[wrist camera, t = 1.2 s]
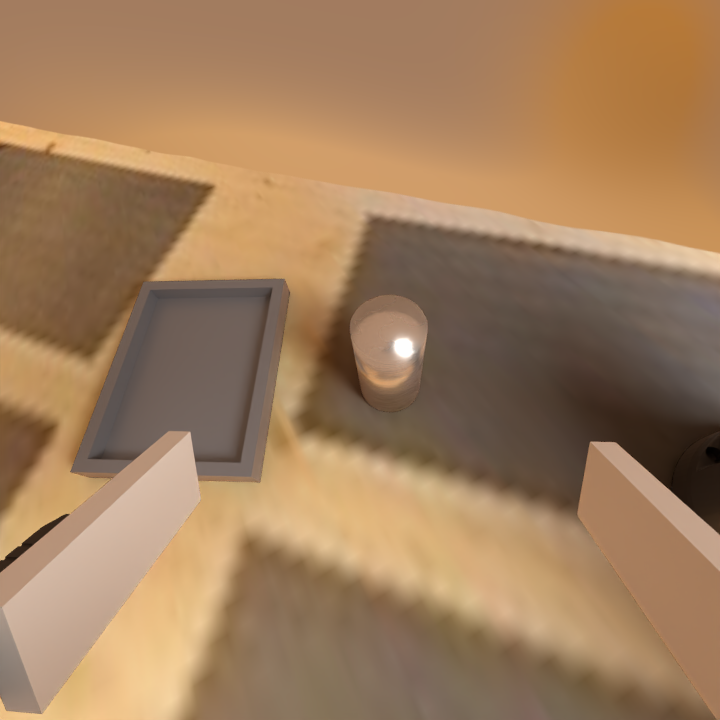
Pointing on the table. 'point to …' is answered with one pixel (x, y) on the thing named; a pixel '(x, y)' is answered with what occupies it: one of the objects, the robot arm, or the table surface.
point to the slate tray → (192, 378)
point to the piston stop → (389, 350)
